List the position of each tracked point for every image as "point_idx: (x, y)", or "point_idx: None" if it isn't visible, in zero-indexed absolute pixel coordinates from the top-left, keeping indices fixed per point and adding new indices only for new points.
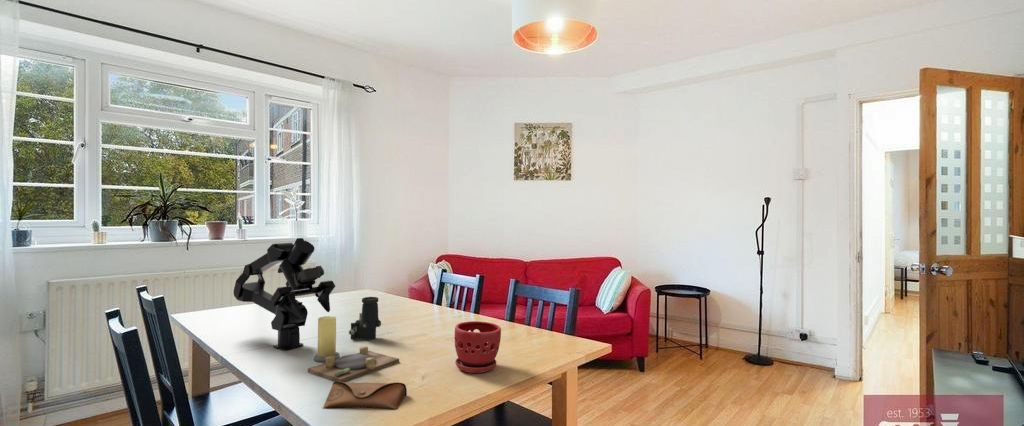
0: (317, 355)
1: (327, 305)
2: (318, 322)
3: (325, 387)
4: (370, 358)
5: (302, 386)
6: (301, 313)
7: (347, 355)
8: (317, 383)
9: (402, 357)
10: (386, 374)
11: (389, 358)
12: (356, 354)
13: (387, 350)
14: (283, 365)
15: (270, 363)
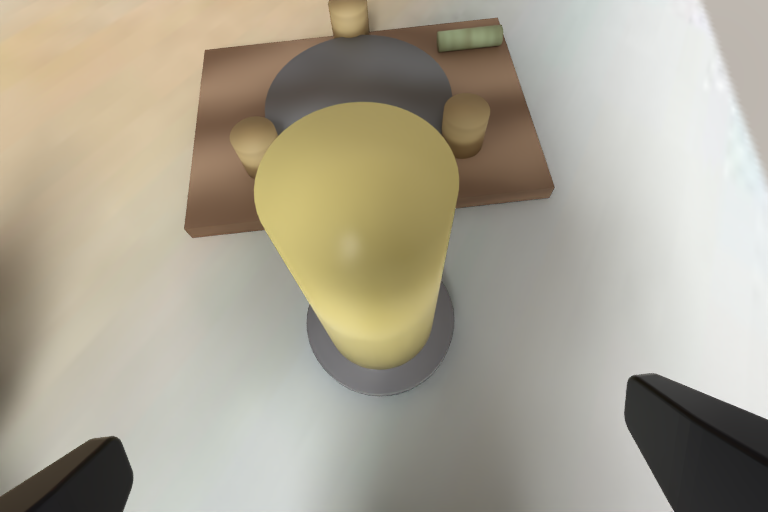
0: (424, 349)
1: (35, 505)
2: (454, 212)
3: (550, 31)
4: (344, 6)
5: (617, 80)
6: (670, 392)
7: None
8: (560, 72)
9: (153, 95)
10: None
11: (223, 73)
12: None
13: (97, 211)
14: None
15: None
